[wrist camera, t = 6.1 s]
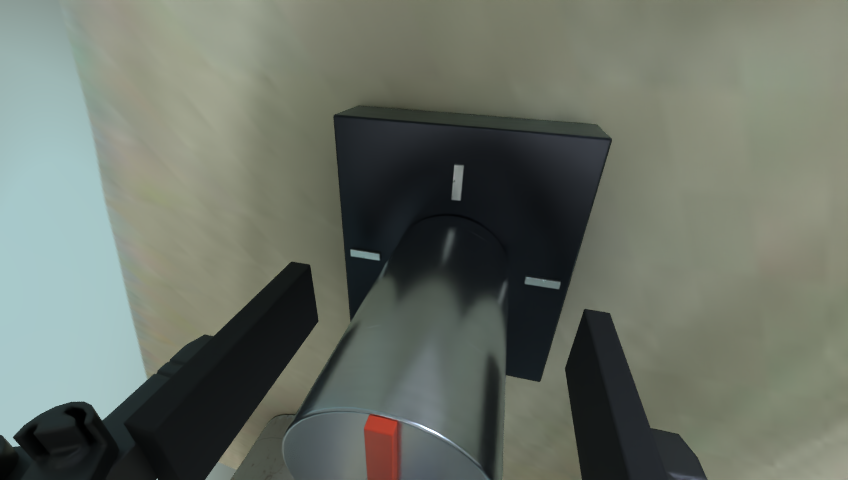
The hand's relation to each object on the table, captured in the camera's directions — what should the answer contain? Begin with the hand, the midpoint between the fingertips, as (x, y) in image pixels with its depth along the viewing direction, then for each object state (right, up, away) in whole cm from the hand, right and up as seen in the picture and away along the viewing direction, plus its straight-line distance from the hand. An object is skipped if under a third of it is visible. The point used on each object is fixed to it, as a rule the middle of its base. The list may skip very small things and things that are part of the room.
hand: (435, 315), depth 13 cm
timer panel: (+1, +3, +5) cm, 6 cm away
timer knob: (+1, +2, +3) cm, 3 cm away
